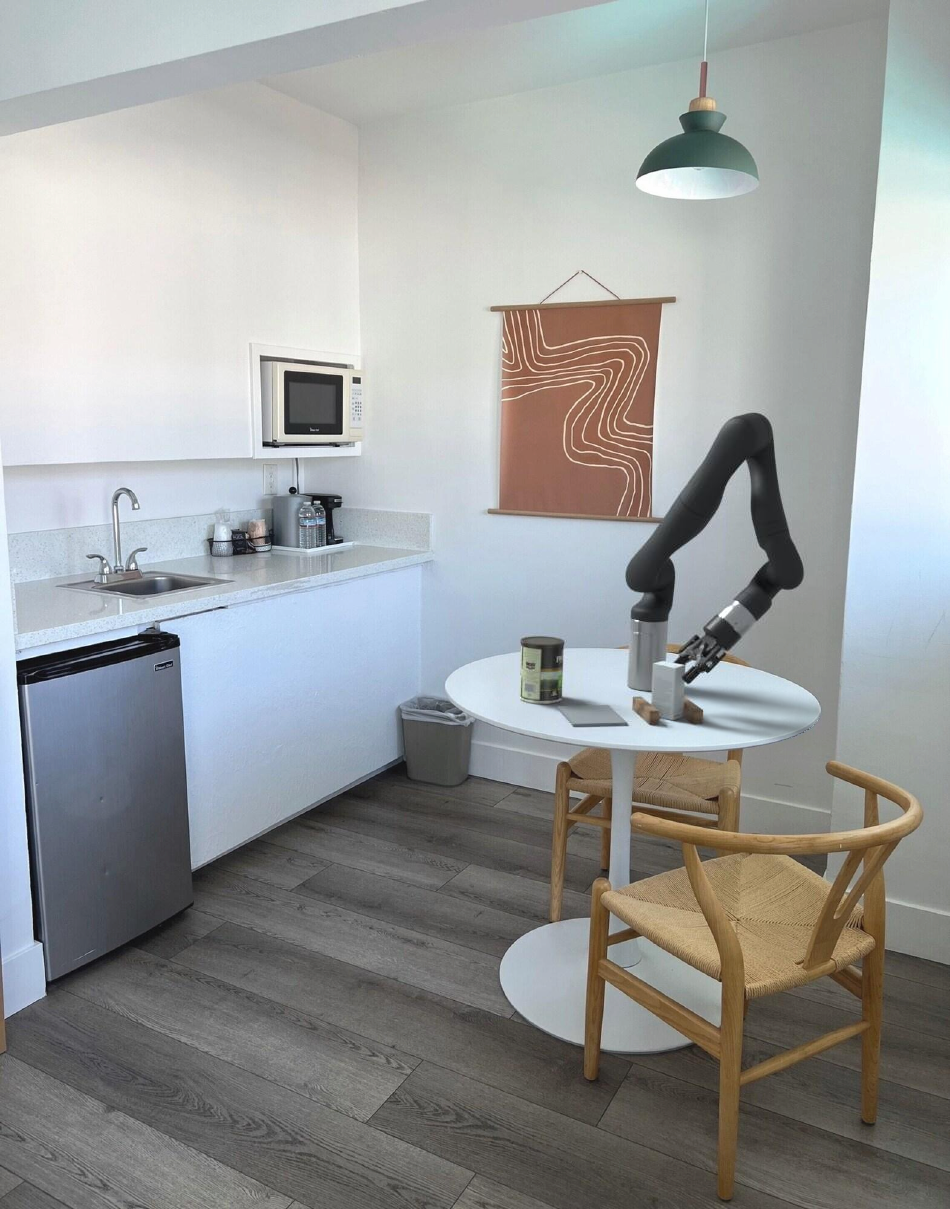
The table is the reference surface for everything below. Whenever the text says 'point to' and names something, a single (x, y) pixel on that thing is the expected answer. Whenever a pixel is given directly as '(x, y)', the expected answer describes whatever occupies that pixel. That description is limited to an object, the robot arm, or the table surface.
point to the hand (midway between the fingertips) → (677, 676)
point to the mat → (591, 715)
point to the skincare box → (668, 689)
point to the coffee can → (541, 669)
